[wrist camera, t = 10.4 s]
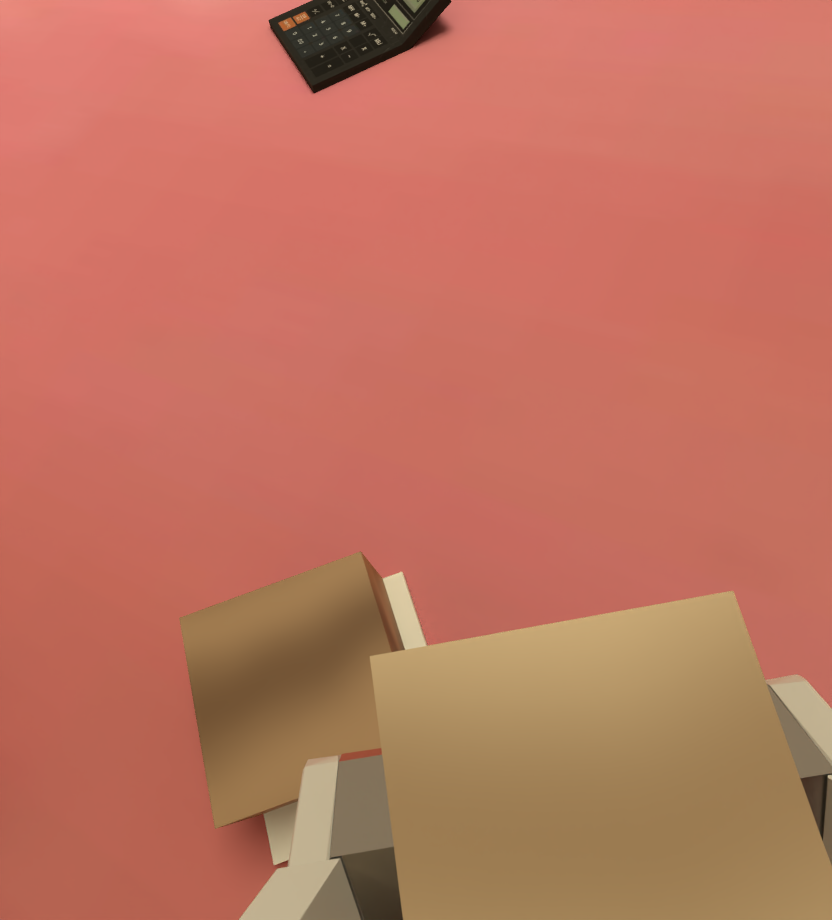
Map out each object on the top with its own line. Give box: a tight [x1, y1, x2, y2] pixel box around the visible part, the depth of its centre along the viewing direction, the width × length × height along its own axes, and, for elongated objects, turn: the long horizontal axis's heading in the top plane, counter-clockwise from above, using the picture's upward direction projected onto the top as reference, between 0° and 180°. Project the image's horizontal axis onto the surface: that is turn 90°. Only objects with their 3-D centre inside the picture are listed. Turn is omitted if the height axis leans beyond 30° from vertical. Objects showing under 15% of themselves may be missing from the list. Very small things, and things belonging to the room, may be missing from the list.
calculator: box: [269, 0, 451, 93], centre depth 48 cm, size 9×12×3 cm
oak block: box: [370, 591, 832, 920], centre depth 10 cm, size 4×4×8 cm
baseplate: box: [264, 572, 428, 865], centre depth 29 cm, size 10×9×1 cm
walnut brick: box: [180, 552, 405, 829], centre depth 27 cm, size 8×8×5 cm
